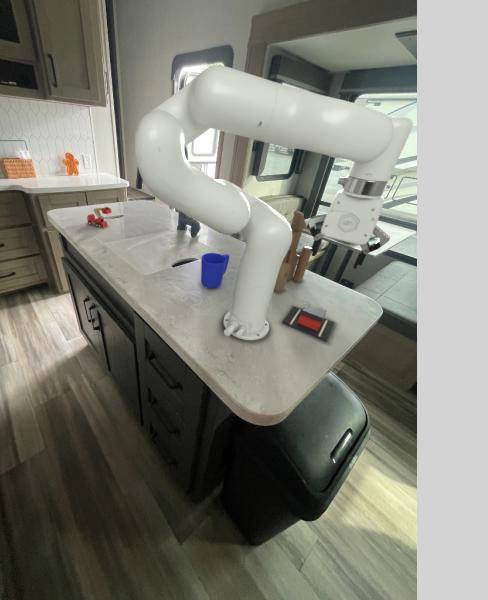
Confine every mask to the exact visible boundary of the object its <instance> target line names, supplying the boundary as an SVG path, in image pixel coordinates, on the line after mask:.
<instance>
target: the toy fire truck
mask: <svg viewBox="0 0 488 600" xmlns="http://www.w3.org/2000/svg"><path fill="white" fill-rule="evenodd" d="M101 212H102V214H104V215H109V214H112V209H111V208H110V207H108V206H104V207H96V208H94V209H93V213H91V214H88V215H86V220H87V224H89V225H90V226H91V225H93V226H96V227H99V228H105V227H106V226H107V227H108V222H107V221H106V220H105V217H104V216H102V214H101ZM96 216H97V218H96Z"/></svg>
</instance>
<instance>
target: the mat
mask: <svg viewBox="0 0 488 600" xmlns="http://www.w3.org/2000/svg"><path fill="white" fill-rule="evenodd" d="M302 311H303V309H302V308H300V307H297V306H293V308H292V309H291V310H290V312H289V313H288V314H287V316H286V318H285V319H284V320H283V322H282V324H283V325H286V326H289V327H290V328H293V329H294V330H298V331H300V332H302V333H305V334H307V335H309V336H312V337H314V338H316V339H318V340H320V341H323V342H327V340H328V338H329V336H330V334H331V331H332V329H333V326H334V324H335V321H333V320H330V319H327V318H325V317H324V319H323V321H322V323H321V325H320V327H319V329H318V331H316V330H313V329H311V328H309V327H306V326H304V325H301V324H299V323H297V322H298V320H299V317H300V316H301V314H302Z"/></svg>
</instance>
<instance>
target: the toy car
mask: <svg viewBox="0 0 488 600" xmlns="http://www.w3.org/2000/svg"><path fill="white" fill-rule="evenodd" d="M302 310H303V311H302V314H301V316H300V317H299V320H298V322H297V323H299V324H301V325H304V326H306V327H309V328H311V329H313V330H316V331H318V329H319V327H320V325H321V323H322V321H323V319H324V318H325V317H326V315H327V312H328V310H327V309H324V308H322V307H318V306H316V305H313V304H310V303H308V302H307V303H306V304H305V306H304V308H303V309H302Z"/></svg>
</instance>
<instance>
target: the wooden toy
mask: <svg viewBox="0 0 488 600" xmlns="http://www.w3.org/2000/svg"><path fill="white" fill-rule="evenodd" d="M290 227H291V230H292V242H291V246H290V248H289V250H288V252H287V254H286V256H285V258H284V260H283V262H282V264H281V267H280V270H279V273H278V276H277V280H276V284H275V287H274V291H273V292H276V293H280V292H283V291H284V290H285V287H286V284H287V281H289V280H291V279H292V280H293V281H294V282H296V283H301V282H302V281H303V278H304V276H305V273H306V269H307V266H308V264H309V260H310V259H311V256H312V253H313V251H311V249H312V246H308V245H307V246H305V245H304V246H302V248H301V252H300V254H297V249H298V246H299V242H300V240H301V237H302V235H303V234H302V233H303V230H307V229H308V226H307V223H306V220H305V216H304V213H303V212H301V211H297V210H296V211H294V214H293V218H292V220H291V224H290Z"/></svg>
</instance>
